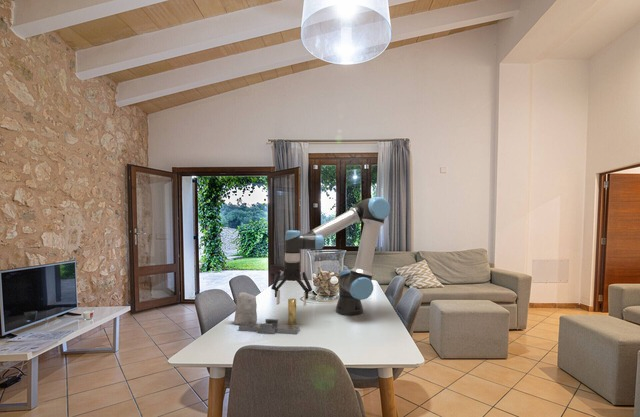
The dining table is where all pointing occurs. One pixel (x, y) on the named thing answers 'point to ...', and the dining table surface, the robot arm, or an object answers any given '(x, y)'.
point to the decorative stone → (245, 309)
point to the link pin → (292, 311)
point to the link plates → (269, 327)
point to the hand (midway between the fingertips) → (291, 304)
